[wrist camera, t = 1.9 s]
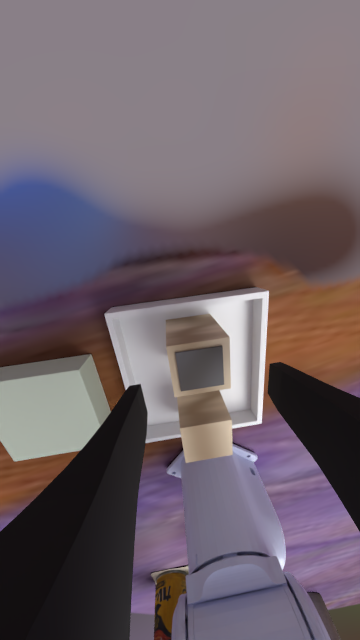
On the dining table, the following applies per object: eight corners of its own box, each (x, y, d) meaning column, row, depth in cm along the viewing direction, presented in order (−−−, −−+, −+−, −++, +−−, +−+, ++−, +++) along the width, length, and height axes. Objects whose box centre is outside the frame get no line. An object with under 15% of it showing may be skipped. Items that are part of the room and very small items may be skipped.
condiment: (150, 572, 32) (142, 742, 21) (195, 562, 32) (211, 725, 21) (158, 587, 34) (154, 747, 23) (199, 578, 35) (216, 732, 23)
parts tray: (111, 307, 15) (104, 313, 13) (256, 287, 15) (268, 291, 14) (143, 426, 20) (141, 443, 18) (252, 408, 20) (261, 423, 18)
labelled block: (209, 313, 15) (230, 337, 11) (212, 352, 17) (231, 389, 12) (165, 319, 15) (166, 347, 10) (171, 358, 17) (174, 398, 12)
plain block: (214, 377, 18) (231, 419, 13) (215, 406, 19) (232, 454, 14) (175, 383, 18) (180, 428, 13) (180, 412, 19) (185, 463, 14)
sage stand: (91, 353, 16) (78, 369, 14) (114, 423, 19) (107, 445, 17) (-7, 368, 16) (-37, 387, 14) (33, 436, 19) (14, 461, 17)
